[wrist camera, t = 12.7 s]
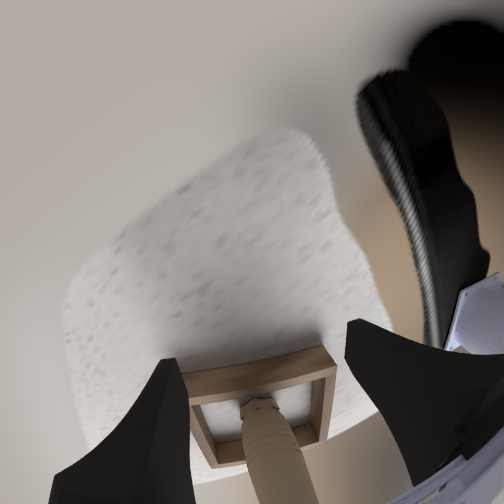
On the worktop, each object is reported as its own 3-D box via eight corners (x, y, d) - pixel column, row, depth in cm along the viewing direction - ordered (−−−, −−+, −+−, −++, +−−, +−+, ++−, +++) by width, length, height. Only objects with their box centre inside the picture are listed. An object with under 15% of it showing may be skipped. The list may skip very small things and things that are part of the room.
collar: (323, 345, 19) (340, 370, 16) (317, 425, 22) (328, 447, 20) (176, 374, 17) (175, 405, 15) (209, 448, 21) (212, 473, 18)
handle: (250, 376, 19) (315, 569, 5) (303, 402, 21) (375, 545, 7) (209, 409, 19) (241, 582, 5) (265, 431, 21) (313, 568, 7)
